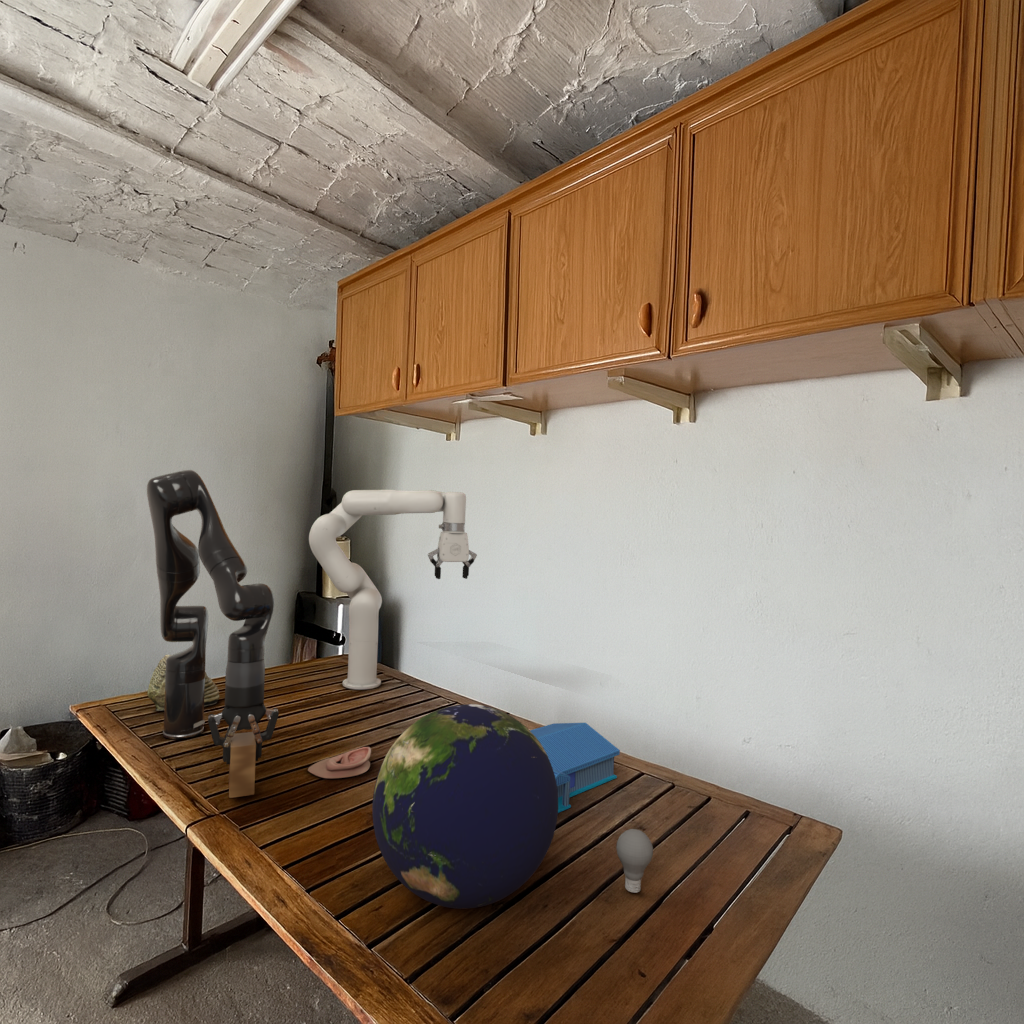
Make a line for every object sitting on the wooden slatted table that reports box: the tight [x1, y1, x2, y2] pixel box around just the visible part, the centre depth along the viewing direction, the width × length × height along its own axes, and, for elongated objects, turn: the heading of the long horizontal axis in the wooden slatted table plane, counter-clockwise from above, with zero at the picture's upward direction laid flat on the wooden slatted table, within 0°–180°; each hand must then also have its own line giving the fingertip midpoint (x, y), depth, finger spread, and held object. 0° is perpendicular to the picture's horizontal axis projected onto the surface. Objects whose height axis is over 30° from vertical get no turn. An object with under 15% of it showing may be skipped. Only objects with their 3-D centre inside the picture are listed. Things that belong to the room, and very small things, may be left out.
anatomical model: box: [307, 746, 372, 779], centre depth 147 cm, size 13×4×12 cm
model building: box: [529, 722, 621, 814], centre depth 143 cm, size 39×24×10 cm, turn 132°
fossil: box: [147, 654, 221, 712], centre depth 185 cm, size 9×18×15 cm, turn 132°
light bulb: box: [615, 828, 654, 894], centre depth 106 cm, size 6×6×10 cm
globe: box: [371, 703, 559, 910], centre depth 103 cm, size 30×30×30 cm
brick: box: [228, 731, 256, 799], centre depth 132 cm, size 5×7×10 cm, turn 25°
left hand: (242, 760), depth 132 cm, fingers closed on brick, 4 cm apart
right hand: (451, 578), depth 216 cm, fingers open, 9 cm apart
